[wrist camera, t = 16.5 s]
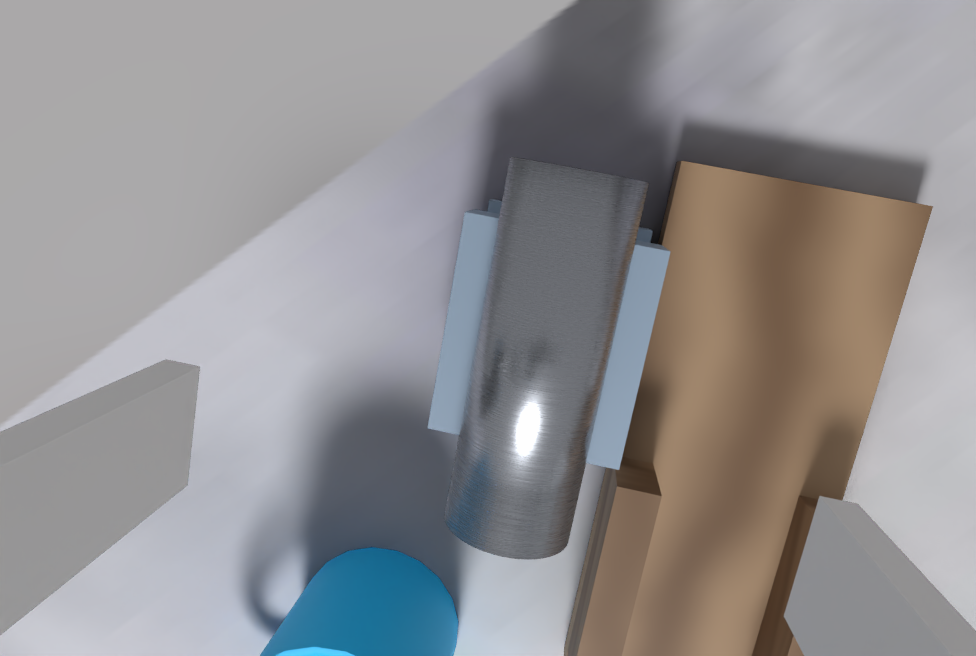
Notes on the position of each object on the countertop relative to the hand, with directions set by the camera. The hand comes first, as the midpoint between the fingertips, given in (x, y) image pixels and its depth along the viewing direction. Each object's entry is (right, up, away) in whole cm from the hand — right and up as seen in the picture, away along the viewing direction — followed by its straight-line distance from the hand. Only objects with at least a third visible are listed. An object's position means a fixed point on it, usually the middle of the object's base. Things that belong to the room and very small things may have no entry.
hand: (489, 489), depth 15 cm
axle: (+3, +2, +15) cm, 15 cm away
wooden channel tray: (+11, -3, +18) cm, 22 cm away
